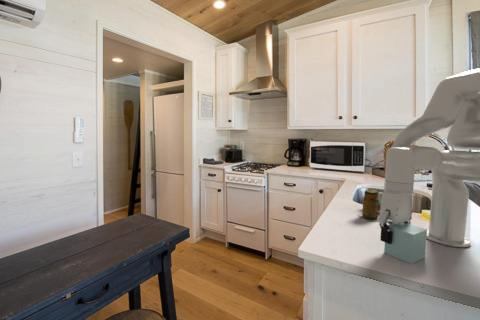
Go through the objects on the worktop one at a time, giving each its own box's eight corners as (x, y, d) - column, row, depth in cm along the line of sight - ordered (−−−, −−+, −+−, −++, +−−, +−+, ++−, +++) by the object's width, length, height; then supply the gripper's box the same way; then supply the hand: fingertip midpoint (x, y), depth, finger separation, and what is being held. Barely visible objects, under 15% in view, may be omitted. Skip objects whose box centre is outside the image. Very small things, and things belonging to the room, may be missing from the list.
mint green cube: (397, 246, 77) (399, 221, 76) (424, 257, 70) (427, 229, 70) (384, 252, 74) (385, 225, 73) (411, 264, 67) (413, 234, 66)
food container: (390, 215, 107) (391, 194, 106) (375, 215, 108) (377, 194, 107) (380, 207, 119) (381, 188, 118) (366, 207, 120) (367, 188, 119)
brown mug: (370, 214, 109) (372, 189, 108) (385, 220, 101) (387, 193, 100) (357, 215, 108) (358, 190, 106) (371, 222, 99) (372, 194, 98)
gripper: (400, 181, 80) (397, 229, 82) (370, 187, 72) (367, 240, 74) (426, 185, 74) (422, 237, 75) (395, 192, 65) (391, 250, 67)
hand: (394, 238), depth 75 cm, fingers open, 9 cm apart
